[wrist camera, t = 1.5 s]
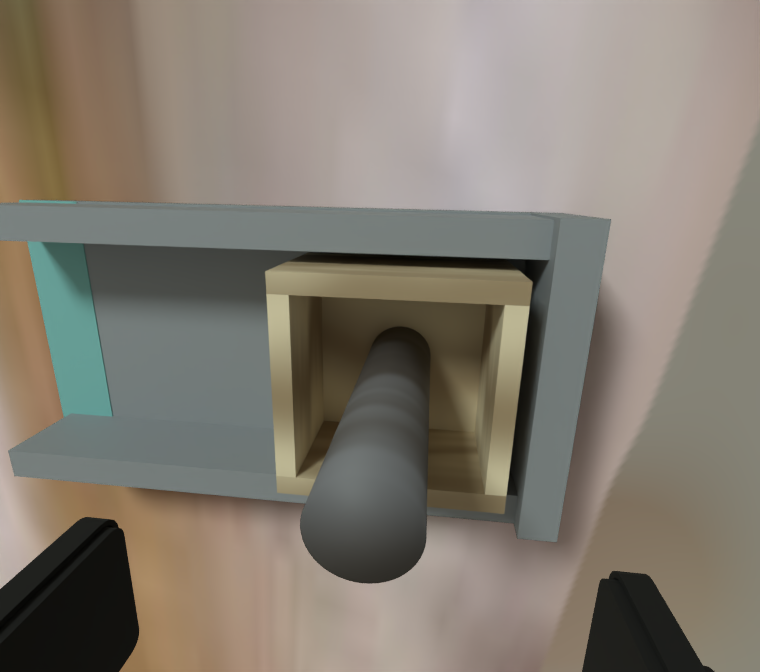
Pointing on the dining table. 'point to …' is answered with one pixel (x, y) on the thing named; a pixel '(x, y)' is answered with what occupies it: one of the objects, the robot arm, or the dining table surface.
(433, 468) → the crate
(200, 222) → the bay
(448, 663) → the dining table surface
